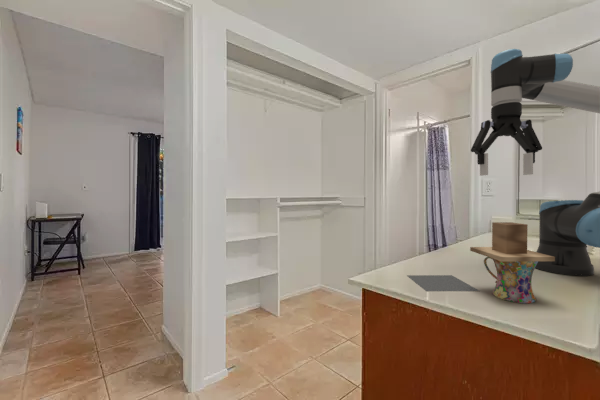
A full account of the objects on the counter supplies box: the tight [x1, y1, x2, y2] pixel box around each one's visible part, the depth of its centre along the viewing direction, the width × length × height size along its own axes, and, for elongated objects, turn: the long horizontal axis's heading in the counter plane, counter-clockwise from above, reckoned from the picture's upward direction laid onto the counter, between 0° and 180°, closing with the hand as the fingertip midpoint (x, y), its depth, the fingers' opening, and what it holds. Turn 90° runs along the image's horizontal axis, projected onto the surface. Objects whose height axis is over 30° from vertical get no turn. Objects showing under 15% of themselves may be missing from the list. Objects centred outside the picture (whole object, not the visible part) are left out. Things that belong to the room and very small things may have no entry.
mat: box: [406, 274, 480, 292], centre depth 81 cm, size 14×14×1 cm
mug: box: [483, 256, 538, 305], centre depth 70 cm, size 12×9×11 cm
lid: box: [469, 221, 555, 262], centre depth 70 cm, size 12×12×8 cm
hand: (506, 175), depth 86 cm, fingers open, 13 cm apart
